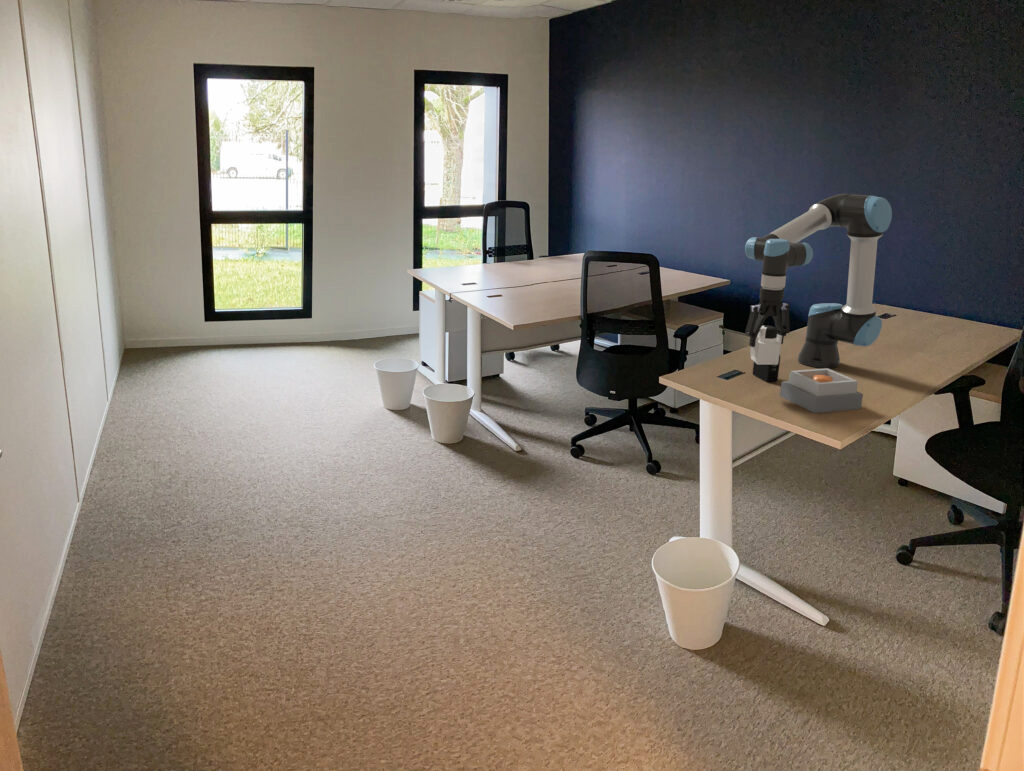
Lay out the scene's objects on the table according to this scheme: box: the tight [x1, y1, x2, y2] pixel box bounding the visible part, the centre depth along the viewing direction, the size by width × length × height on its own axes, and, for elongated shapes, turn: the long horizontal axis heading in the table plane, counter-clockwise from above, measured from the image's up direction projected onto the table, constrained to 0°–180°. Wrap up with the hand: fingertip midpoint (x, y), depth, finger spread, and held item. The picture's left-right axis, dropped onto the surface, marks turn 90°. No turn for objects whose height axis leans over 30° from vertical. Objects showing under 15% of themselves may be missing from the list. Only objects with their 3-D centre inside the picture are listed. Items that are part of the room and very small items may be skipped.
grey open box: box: [779, 368, 864, 414], centre depth 274 cm, size 18×18×9 cm
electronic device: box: [752, 354, 781, 383], centre depth 298 cm, size 4×10×10 cm, turn 15°
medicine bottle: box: [750, 325, 781, 365], centre depth 276 cm, size 7×7×12 cm
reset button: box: [813, 375, 833, 383], centre depth 273 cm, size 6×6×5 cm
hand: (765, 354), depth 277 cm, fingers closed on medicine bottle, 8 cm apart
